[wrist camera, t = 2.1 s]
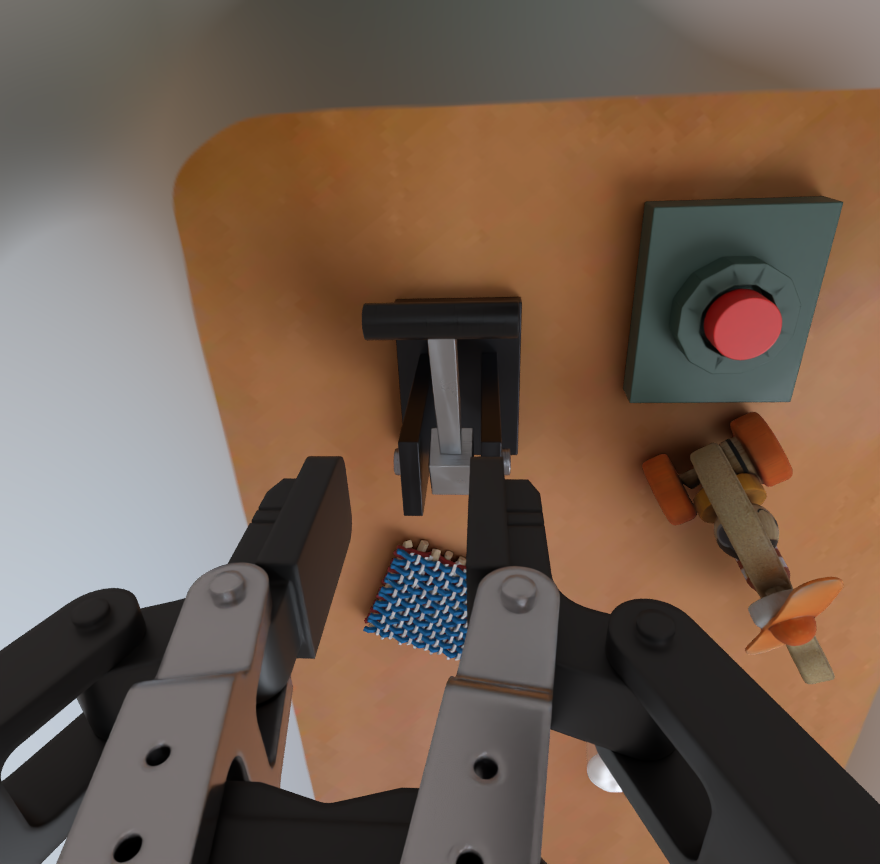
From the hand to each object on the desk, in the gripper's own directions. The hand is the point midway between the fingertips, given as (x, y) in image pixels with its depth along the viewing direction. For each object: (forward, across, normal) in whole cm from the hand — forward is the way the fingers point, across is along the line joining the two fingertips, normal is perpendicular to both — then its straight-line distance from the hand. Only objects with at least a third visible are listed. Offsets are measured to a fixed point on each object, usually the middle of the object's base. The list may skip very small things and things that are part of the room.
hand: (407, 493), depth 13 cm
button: (+23, -16, +4) cm, 29 cm away
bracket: (+27, 0, +9) cm, 29 cm away
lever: (+15, 0, +4) cm, 16 cm away
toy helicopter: (+27, -20, +20) cm, 39 cm away
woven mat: (+27, +2, +29) cm, 40 cm away
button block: (+27, -16, +4) cm, 32 cm away
